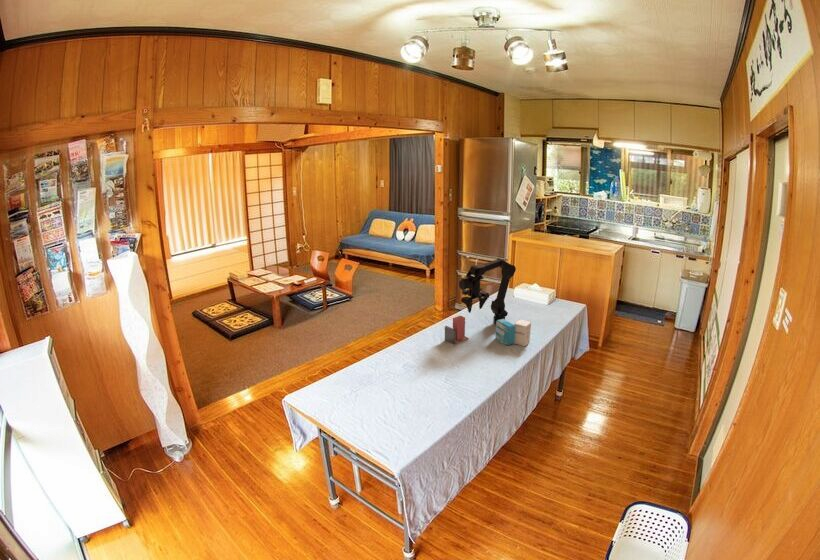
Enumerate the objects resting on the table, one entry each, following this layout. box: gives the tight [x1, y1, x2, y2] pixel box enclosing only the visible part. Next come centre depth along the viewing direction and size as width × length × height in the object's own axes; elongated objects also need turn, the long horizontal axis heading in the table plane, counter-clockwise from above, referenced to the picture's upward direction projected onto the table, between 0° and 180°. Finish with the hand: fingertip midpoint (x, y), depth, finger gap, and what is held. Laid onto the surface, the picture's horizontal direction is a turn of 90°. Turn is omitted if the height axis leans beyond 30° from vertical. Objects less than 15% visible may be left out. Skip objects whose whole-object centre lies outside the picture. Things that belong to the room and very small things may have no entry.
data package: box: [495, 318, 515, 346], centre depth 245 cm, size 12×4×12 cm, turn 26°
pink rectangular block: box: [452, 315, 466, 340], centre depth 249 cm, size 6×4×12 cm, turn 126°
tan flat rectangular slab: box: [456, 335, 469, 345], centre depth 251 cm, size 10×8×1 cm
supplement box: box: [513, 319, 532, 347], centre depth 243 cm, size 7×7×13 cm
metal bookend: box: [444, 325, 457, 346], centre depth 246 cm, size 2×8×9 cm, turn 36°
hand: (474, 310), depth 258 cm, fingers open, 9 cm apart
